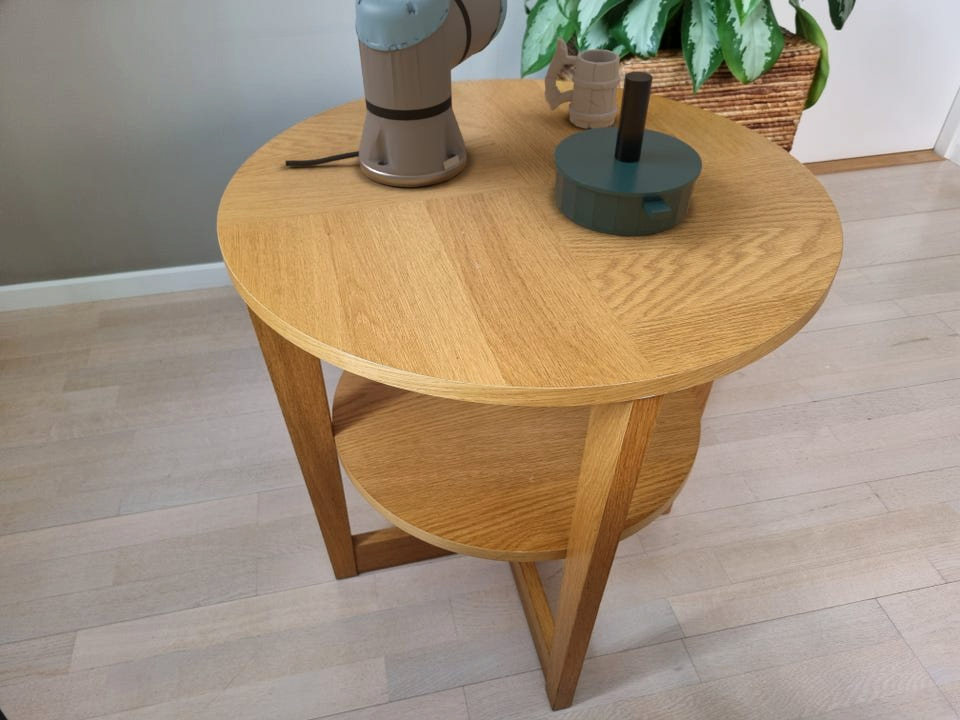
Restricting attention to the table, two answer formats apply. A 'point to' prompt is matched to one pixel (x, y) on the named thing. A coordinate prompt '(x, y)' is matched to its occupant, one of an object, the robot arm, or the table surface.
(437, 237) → the table surface
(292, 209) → the table surface
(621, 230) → the shallow round tub
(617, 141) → the lid
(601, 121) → the mug
